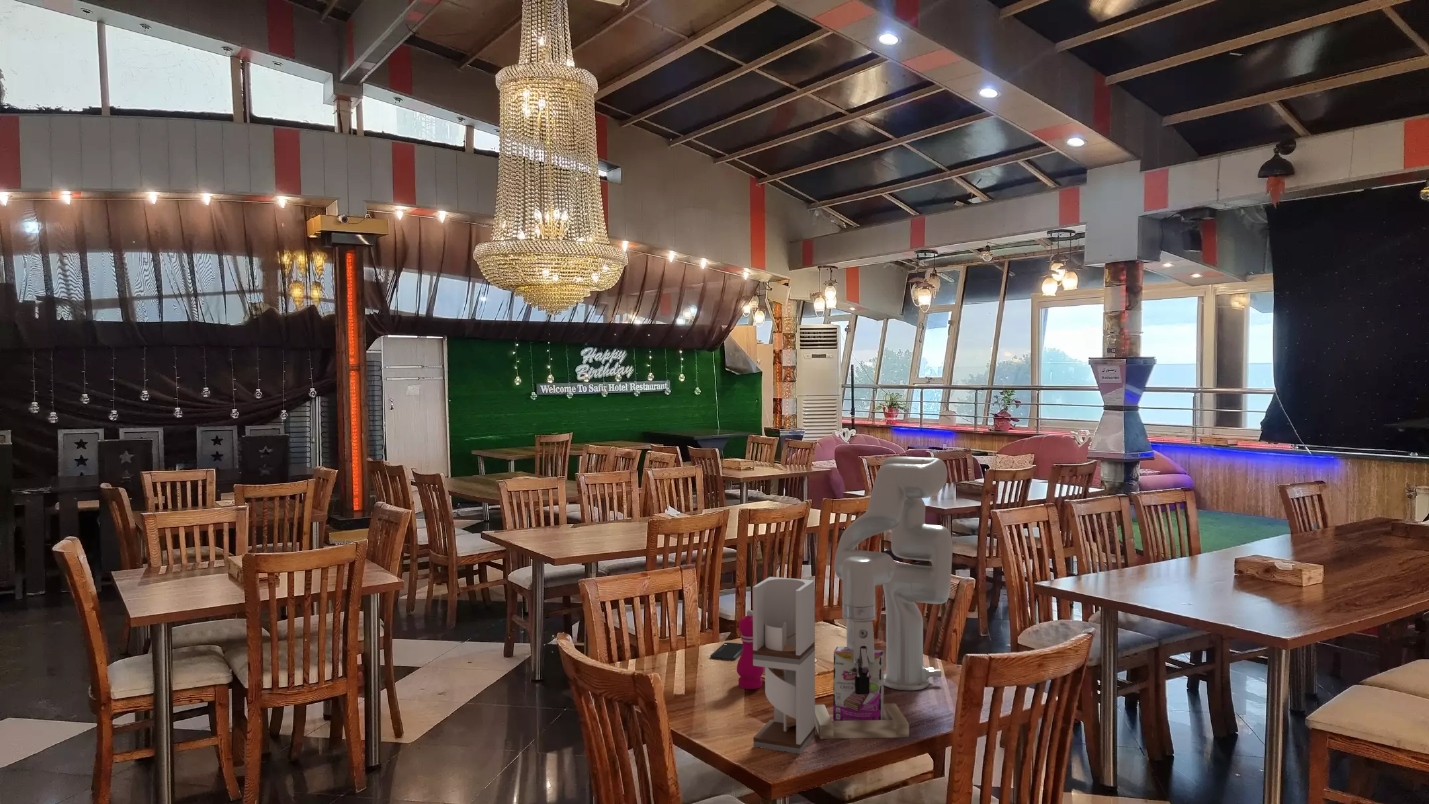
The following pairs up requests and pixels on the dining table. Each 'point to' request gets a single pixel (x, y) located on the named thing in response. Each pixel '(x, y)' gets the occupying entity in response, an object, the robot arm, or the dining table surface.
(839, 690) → the candy bar box
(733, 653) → the phone
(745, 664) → the pepper mill
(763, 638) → the white spiral tower
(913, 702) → the dining table surface
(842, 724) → the notched board
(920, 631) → the robot arm
